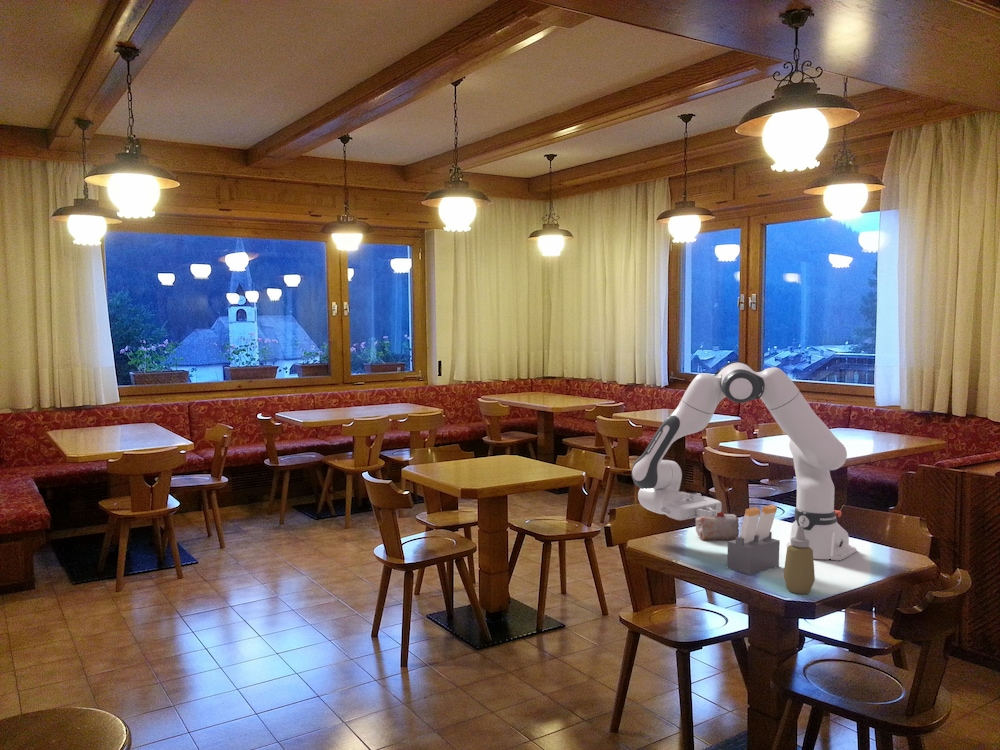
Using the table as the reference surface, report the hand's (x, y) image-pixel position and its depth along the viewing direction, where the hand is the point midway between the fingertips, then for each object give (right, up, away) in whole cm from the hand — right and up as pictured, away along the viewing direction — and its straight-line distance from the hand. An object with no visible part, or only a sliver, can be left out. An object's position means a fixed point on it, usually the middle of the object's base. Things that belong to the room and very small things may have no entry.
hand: (714, 514), depth 236 cm
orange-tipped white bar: (+13, -6, -5) cm, 15 cm away
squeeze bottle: (+16, -16, -27) cm, 35 cm away
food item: (+8, -13, +24) cm, 28 cm away
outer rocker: (+7, -6, -9) cm, 13 cm away
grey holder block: (+10, -15, -7) cm, 19 cm away
